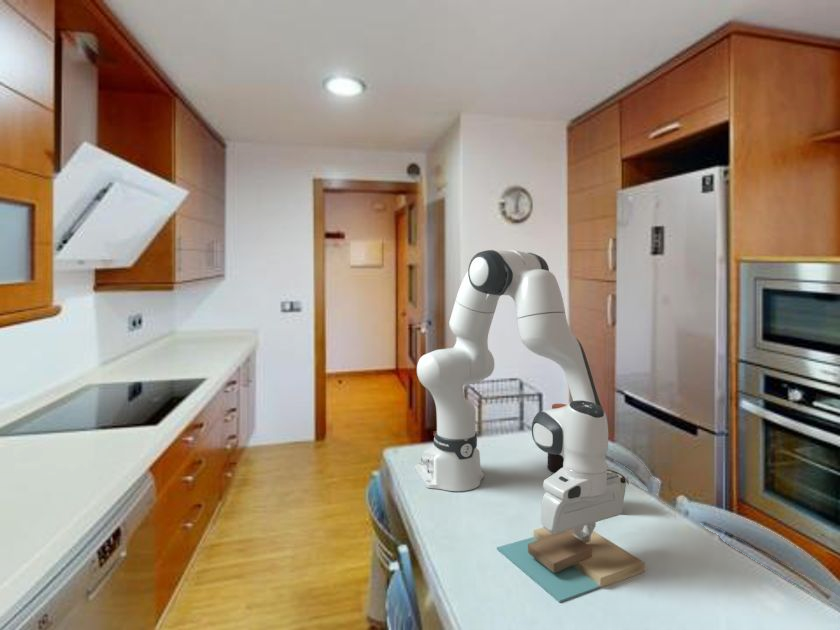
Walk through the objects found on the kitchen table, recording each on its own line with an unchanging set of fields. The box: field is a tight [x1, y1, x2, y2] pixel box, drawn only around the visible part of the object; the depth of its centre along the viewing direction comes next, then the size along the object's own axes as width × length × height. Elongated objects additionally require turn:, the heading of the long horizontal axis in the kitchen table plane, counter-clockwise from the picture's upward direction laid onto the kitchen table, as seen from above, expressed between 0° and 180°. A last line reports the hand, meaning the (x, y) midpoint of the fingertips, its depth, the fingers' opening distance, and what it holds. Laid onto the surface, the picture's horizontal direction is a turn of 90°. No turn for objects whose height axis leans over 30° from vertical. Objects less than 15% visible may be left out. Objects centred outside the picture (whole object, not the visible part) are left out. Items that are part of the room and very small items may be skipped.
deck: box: [532, 525, 646, 589], centre depth 109 cm, size 20×12×2 cm, turn 26°
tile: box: [528, 531, 592, 573], centre depth 105 cm, size 8×10×2 cm
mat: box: [496, 536, 601, 603], centre depth 104 cm, size 20×10×1 cm, turn 26°
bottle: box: [547, 403, 567, 473], centre depth 155 cm, size 7×7×20 cm
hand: (582, 542), depth 108 cm, fingers closed
